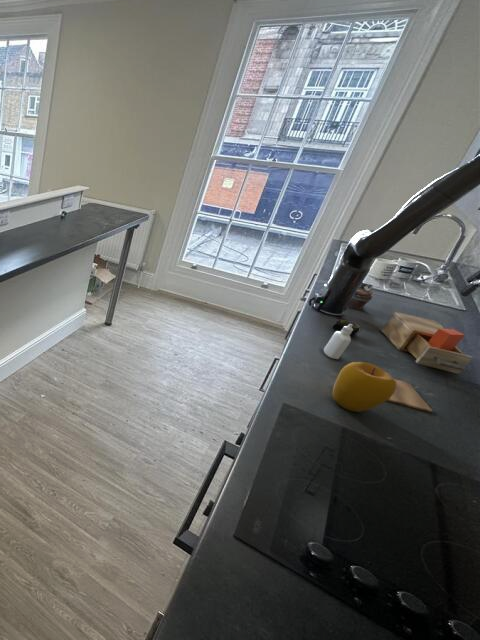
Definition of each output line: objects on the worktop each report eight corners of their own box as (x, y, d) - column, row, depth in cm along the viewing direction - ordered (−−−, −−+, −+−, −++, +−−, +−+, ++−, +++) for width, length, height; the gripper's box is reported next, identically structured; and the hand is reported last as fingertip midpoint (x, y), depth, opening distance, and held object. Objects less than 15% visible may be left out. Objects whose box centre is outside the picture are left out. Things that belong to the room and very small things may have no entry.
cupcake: (336, 297, 177) (349, 276, 172) (364, 305, 172) (378, 284, 167) (335, 303, 171) (349, 282, 165) (364, 312, 165) (379, 290, 160)
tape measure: (329, 330, 149) (334, 321, 147) (335, 325, 152) (341, 317, 150) (351, 339, 144) (357, 330, 142) (357, 334, 148) (363, 325, 146)
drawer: (466, 381, 125) (481, 364, 121) (423, 370, 128) (437, 354, 125) (436, 352, 139) (448, 337, 136) (398, 343, 142) (409, 328, 139)
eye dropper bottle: (339, 354, 134) (360, 324, 128) (337, 361, 130) (359, 330, 124) (323, 348, 136) (343, 318, 130) (321, 354, 133) (341, 324, 127)
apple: (383, 417, 107) (415, 380, 101) (352, 421, 105) (383, 383, 98) (343, 390, 116) (369, 354, 110) (314, 393, 114) (339, 356, 107)
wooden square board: (378, 398, 115) (379, 396, 114) (360, 371, 126) (361, 370, 125) (431, 412, 111) (433, 411, 110) (407, 384, 122) (409, 382, 122)
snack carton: (418, 353, 135) (438, 328, 130) (432, 353, 135) (452, 329, 130) (429, 359, 132) (450, 334, 127) (443, 360, 132) (465, 334, 127)
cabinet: (441, 360, 137) (458, 340, 132) (398, 349, 140) (414, 330, 136) (420, 339, 148) (435, 320, 144) (381, 330, 152) (394, 311, 148)
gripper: (497, 248, 131) (448, 286, 137) (555, 262, 119) (498, 303, 124) (507, 261, 133) (458, 297, 139) (565, 276, 121) (508, 315, 126)
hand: (477, 300), depth 132 cm, fingers open, 8 cm apart
